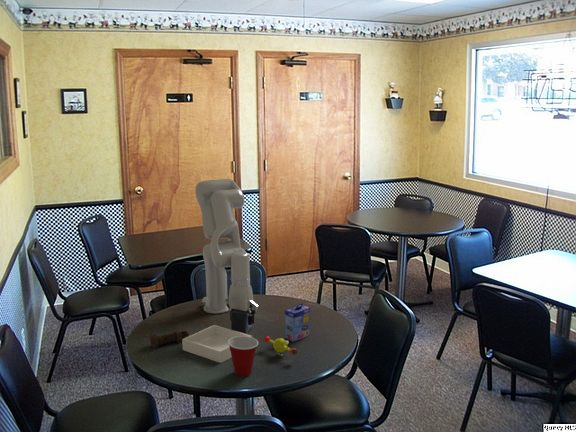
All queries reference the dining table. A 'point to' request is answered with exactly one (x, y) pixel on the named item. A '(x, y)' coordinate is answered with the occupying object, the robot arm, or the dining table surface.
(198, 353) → the tray
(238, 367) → the plastic cup
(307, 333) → the ink cartridge box
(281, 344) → the toy figure
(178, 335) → the bolt
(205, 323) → the dining table surface
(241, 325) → the small box
